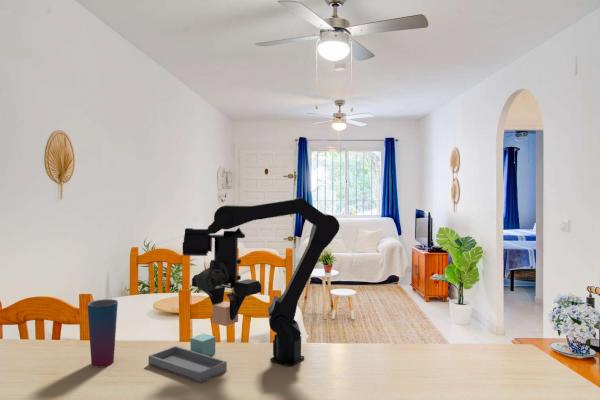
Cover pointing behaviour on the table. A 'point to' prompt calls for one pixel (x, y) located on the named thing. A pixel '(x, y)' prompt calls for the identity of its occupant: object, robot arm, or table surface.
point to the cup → (102, 331)
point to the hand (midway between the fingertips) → (225, 318)
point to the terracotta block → (222, 314)
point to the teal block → (203, 344)
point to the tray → (188, 364)
